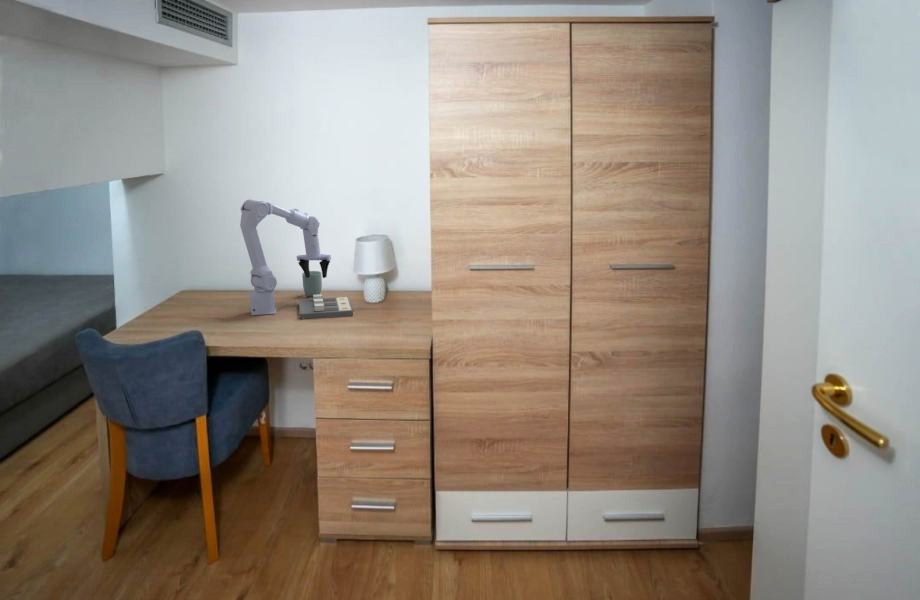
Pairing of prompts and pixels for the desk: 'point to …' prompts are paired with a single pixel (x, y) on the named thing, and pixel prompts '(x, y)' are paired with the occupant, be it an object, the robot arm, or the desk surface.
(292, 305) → the desk surface
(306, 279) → the cup
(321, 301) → the switch tab
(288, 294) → the desk surface
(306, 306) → the switch board
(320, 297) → the switch tab
